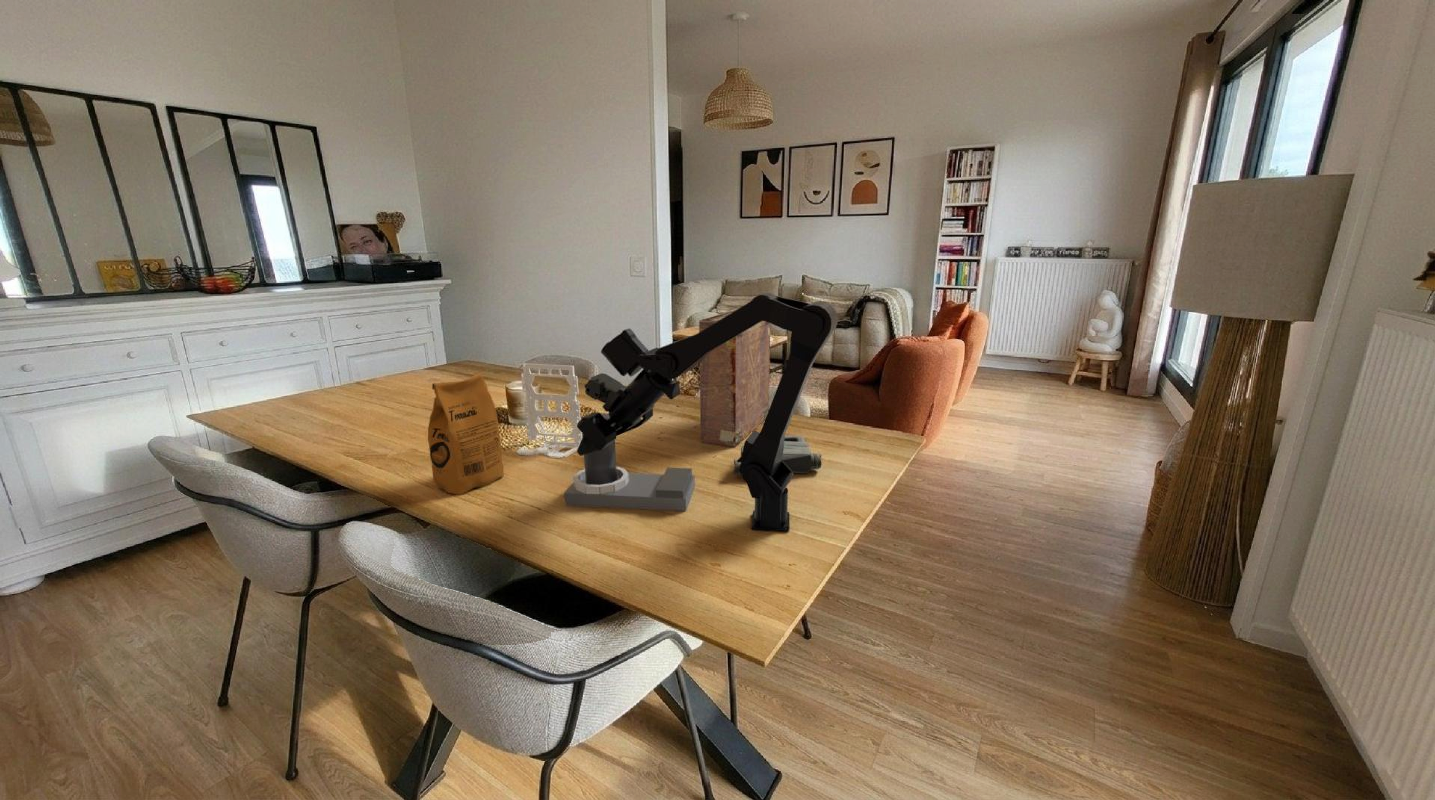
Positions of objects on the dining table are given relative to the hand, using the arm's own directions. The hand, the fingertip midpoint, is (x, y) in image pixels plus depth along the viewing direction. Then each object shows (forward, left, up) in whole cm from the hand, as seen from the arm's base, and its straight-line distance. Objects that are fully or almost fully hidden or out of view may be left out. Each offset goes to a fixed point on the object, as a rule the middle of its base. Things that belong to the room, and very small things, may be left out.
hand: (592, 445), depth 109 cm
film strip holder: (+25, +19, -10) cm, 33 cm away
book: (+42, -24, -10) cm, 49 cm away
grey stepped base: (0, -7, -10) cm, 12 cm away
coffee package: (+3, +28, -10) cm, 30 cm away
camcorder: (+19, -35, -10) cm, 41 cm away
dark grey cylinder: (0, -1, -7) cm, 7 cm away
